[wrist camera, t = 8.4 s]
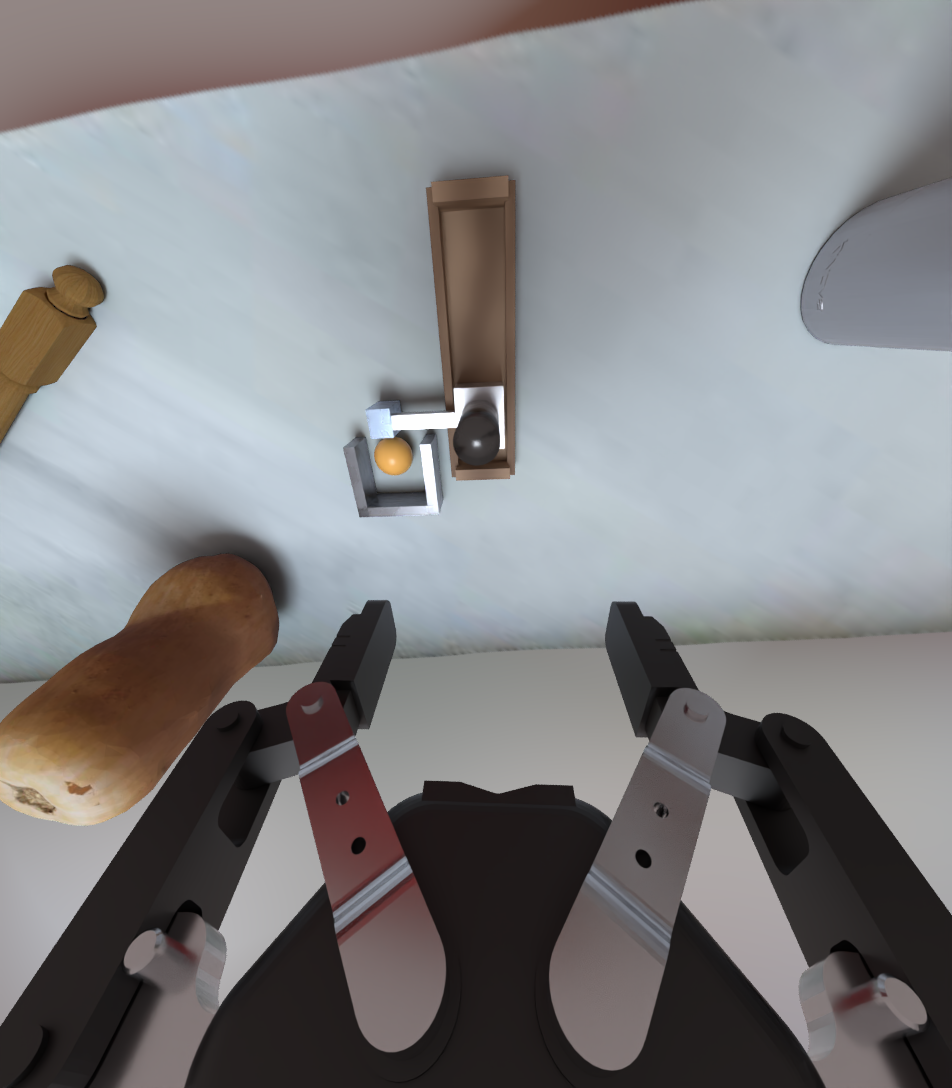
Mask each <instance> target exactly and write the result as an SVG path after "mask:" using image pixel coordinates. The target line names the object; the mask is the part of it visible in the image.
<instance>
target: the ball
mask: <svg viewBox="0 0 952 1088" xmlns="http://www.w3.org/2000/svg"><path fill="white" fill-rule="evenodd" d="M374 457H375V462H376V464H377V466H378V467H379V468H380V469H381V470H382V471H383V472H384V473H386V474H389V475H400V474H403V473H404V472H406V471H407V470H408V469H409V468H410V466H411V464H412V461H413V453H412V450H411V448H410V446H409V445H408V443H407V442H406V441H404V440H403V439H401V438H398V437H394V438H384V439H383V440H381V441H380V442H379V443H378V444H377V446H376V448H375V452H374Z"/></svg>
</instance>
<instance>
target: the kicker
mask: <svg viewBox="0 0 952 1088" xmlns="http://www.w3.org/2000/svg"><path fill="white" fill-rule="evenodd" d="M454 400H455V410H444V411H423V412H402V413H401V406H400V400H397V401H378V402H377V403H375V404H374V405H372V406H371V407H369V408H368V409H366V415H367V420H368V425H369V430H370V435H371V439H379V438H394V437H395V436H396V435H397V434H398V433H399V432H400V430H410V429H433V428H455V427H456V430H455V433H454V436H453V447H454V450H455V453H456V454H457V456H458V457H459V458H460V459H461V460H462V461H463V462H465V463H467V464H470V465H474V466H479V465H484V464H487V463H489V462H490V461H492V460H493V459H494V458H495V457H496V455H497V454H498V452H499V449H501V448H504V386H503V381H497V382H478V383H458V384H456V386H455V387H454Z"/></svg>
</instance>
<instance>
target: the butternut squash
mask: <svg viewBox="0 0 952 1088" xmlns="http://www.w3.org/2000/svg"><path fill="white" fill-rule="evenodd" d="M278 631H279V617H278V613H277V608H276V605H275V602H274V599H273V594H272V590H271V588H270V586H269V584H268V582H267V580H266V578H265V577H264V575H263V574H262V572H261V571H260V570H259V569H258V568H257V567H256V566H255V565H253V564H252V563H250V562H249V561H247V560H245V559H243V558H241V557H240V556H237V555H234V554H229V553H226V554H219V555H215V556H201V557H197V558H194V559H191V560H188V561H185V562H183V563H181V564H179V565H177V566H175V567H173V568H172V569H170V570H169V571H168V572H166V573H165V574H164V575H162V576H161V577H160V578H159V579H158V580H156V581H155V582H154V583H153V584H152V585H151V586H150V587H149V589H148V590H147V591H146V593H145V594H144V596H143V597H142V598H141V600H140V602H139V603H138V605H137V606H136V608H135V609H134V611H133V613H132V615H131V617H130V619H129V621H128V623H127V625H126V626H125V628H124V629H123V630H122V631H120V632H119V633H118V634H117V635H115V636H114V637H111V638H109V639H107V640H105V641H103V642H101V643H99V644H97V645H95V646H94V647H92V648H90V649H89V650H87V651H85V652H84V653H82V654H80V655H79V656H78V657H76V658H75V659H74V660H72V661H71V662H70V663H68V664H67V665H66V666H64V667H63V668H62V669H61V670H60V671H58V672H57V673H56V674H55V675H54V676H53V677H51V678H50V679H49V680H48V681H47V682H46V683H45V684H43V685H42V686H41V687H40V688H38V689H37V690H36V691H35V692H33V693H32V694H31V695H30V696H29V697H27V698H26V699H25V700H24V701H23V702H21V703H20V704H19V705H18V706H17V707H16V708H15V709H14V710H13V711H12V712H10V713H9V714H8V715H7V716H6V717H5V718H4V719H3V720H2V722H1V723H0V800H1V801H2V802H3V803H5V804H6V805H8V806H10V807H11V808H13V809H14V810H16V811H19V812H22V813H24V814H27V815H30V816H32V817H35V818H40V819H46V820H52V821H57V822H61V823H65V824H70V825H83V826H87V825H94V824H98V823H101V822H104V821H106V820H109V819H111V818H113V817H115V816H117V815H119V814H121V813H123V812H126V811H127V810H128V809H130V808H131V807H132V806H133V805H135V804H136V803H137V802H139V801H140V800H141V799H142V798H144V797H145V796H146V795H147V794H148V793H149V792H150V791H151V790H153V788H154V787H155V786H156V784H157V783H158V782H159V780H160V779H161V778H162V776H163V775H164V774H165V772H166V771H167V770H168V768H169V767H170V766H171V764H172V763H173V762H174V760H175V759H176V757H178V755H179V754H180V753H181V751H182V750H183V749H184V748H185V747H186V746H187V744H188V743H189V742H190V741H191V740H192V739H193V737H194V736H195V735H196V734H197V732H198V731H199V729H200V728H201V726H202V725H203V724H204V722H205V721H206V720H207V718H208V717H209V716H210V714H211V713H212V712H213V711H214V709H215V708H216V707H217V705H218V704H219V703H220V701H221V700H222V699H223V698H224V696H225V695H226V694H227V692H228V691H229V690H230V688H231V687H232V686H233V685H234V683H236V682H237V681H238V680H239V679H240V678H242V677H243V676H244V675H245V674H246V673H247V672H248V671H249V670H250V669H252V668H253V667H254V666H256V665H257V664H258V663H260V662H261V661H262V660H263V659H264V658H265V657H266V656H267V655H269V654H270V653H271V652H272V650H273V648H274V647H275V645H276V643H277V638H278Z"/></svg>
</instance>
